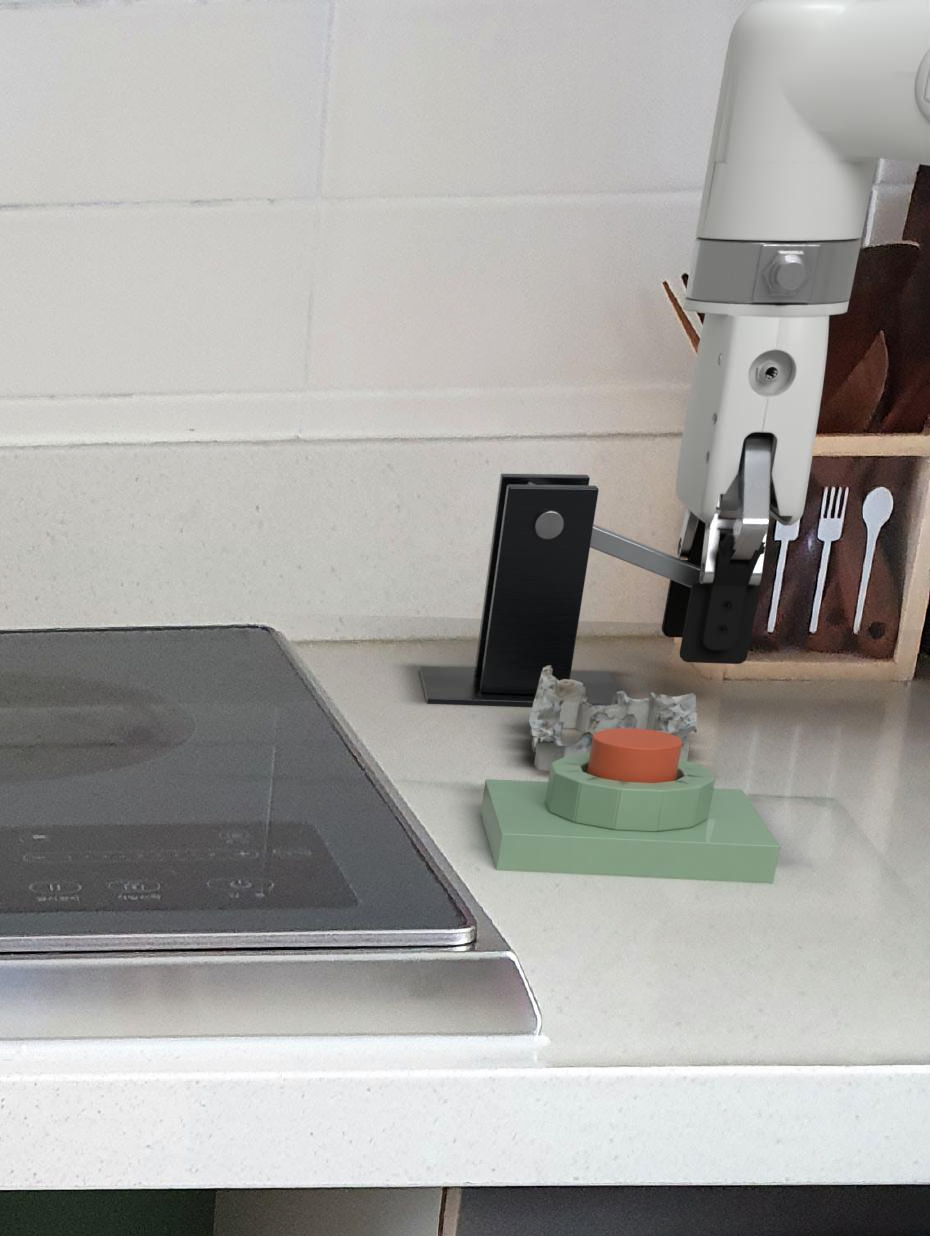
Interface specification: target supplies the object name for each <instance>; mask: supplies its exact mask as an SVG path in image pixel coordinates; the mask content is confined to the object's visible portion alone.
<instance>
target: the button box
mask: <svg viewBox="0 0 930 1236" xmlns="http://www.w3.org/2000/svg"><path fill="white" fill-rule="evenodd" d="M589 757H590V753H581V754H571V755H567V756H565V757H563V758H561V759H558V760H556V761H554V762H552V763H551V767H550V771H549V773H548V774H549V775H548V781H539V780H536V781H535V780H517V779H516V780H514V779H491V778H490V779H489V778H487V779H485V780H484V787H483V795H482V802H481V807H480V808H481V809H480V816H481V820H482V824H483V827H484V831H485V834H486V838H487V841H488V845H489V849H490V852H491V856H492V859H493V863H494V867H495V870H496V871H504V872H505V871H508V872H524V873H525V872H527V873H546V874H547V873H548V874H549V873H550V874H567V875H568V874H569V875H589V876H610V877H611V876H612V877H629V878H632V877H633V878H653V879H673V880H696V881H715V882H733V883H734V882H735V883H753V884H755V883H756V884H774V881H775V875H776V870H777V864H778V859H779V854H780V849H781V845H780V844H779V842H778V841H777V839H776V838H775V837H774V835H773V834H772V832H771V830H770V829H769V827H768V826H767V824H766V823H765V822H764V820H763V818H762V817H761V815H760V814H759V813H758V811H757V810H756V808H755V806H754V805H753V803H752V802H751V801H750V799H749V798H748V797H747V795H746V793H745V792H744V790H743V789H741V788H737V789H736V788H714V787H715V784H716V783H715V782H716V778H715V776H714V775H713V773H712V772H711V770H710V769H709V768H708V767H706V766H703V765H701V764H697V763H695V762H692V761H689V760H687V761H686V760H683V759H679V764H678V770H677V776H676V781H670V782H660V783H638V782H621V781H615V780H609V779H603V778H598V777H595V776H593V775H590V774H587V770H588V763H589Z"/></svg>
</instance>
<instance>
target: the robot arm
mask: <svg viewBox="0 0 930 1236" xmlns="http://www.w3.org/2000/svg"><path fill="white" fill-rule="evenodd" d="M728 39H729V40H728V44H727V50H726V52H725V53H726V54H725V60H724V65H723V72H722V77H721V82H720V88H719V95H718V101H717V107H716V112H715V117H714V124H713V130H712V136H711V142H710V147H709V154H708V160H707V166H706V172H705V178H704V184H703V190H702V195H701V196H702V197H701V202H700V208H699V214H698V218H697V219H698V220H697V226H696V231H695V237H696V238H695V239H694V241H693V249H692V254H691V261H690V267H689V273H688V278H687V284H686V290H685V297H684V304H683V306H682V310H684V311H687V312H691V313H693V312H696V313H699V314H704V318H703V322H702V323H703V324H702V327H701V332H700V338H699V342H698V343H697V349H696V350H697V352H696V357H695V358H696V359H695V363H694V367H693V372H692V377H691V383H690V388H689V394H688V398H687V399H688V400H687V405H686V411H685V416H684V422H683V428H682V434H681V440H680V446H679V454H678V461H677V469H676V479H675V493H676V496H677V498H678V500H679V501H680V502H681V503H682V504H683V505H684V507H686V509H685V514H684V517H683V521H682V526H681V529H680V532H679V533H680V534H679V538H678V542H677V549H676V557H677V558H679V559H681V560H684V561H686V562H689V563H691V564H694V565H696V566H699V567H701V570H700V581H692V586H691V588H690V587H688V586H685V585H683V584H680V583H678V582H676V581H673V580H671V579H669V584H668V589H667V595H666V601H665V608H664V612H663V619H662V623H661V632H662V634H663V635H664V636H665V637H667V638H681V642H680V649H679V657H680V659H681V660H682V661H683V662H685V663H693V664H694V663H697V664H722V665H723V664H725V665H726V664H727V665H740V664H741V665H742V664H743V663H744V662H745V661H746V660H747V657H748V654H749V649H750V644H751V640H752V633H753V628H754V623H755V619H756V614H757V613H756V612H757V609H758V602H759V597H760V593H761V587H762V584H761V580H762V577H763V570H764V569H763V568H764V563H765V552H766V545H767V536H768V529H769V525H770V516H771V517H772V518H773V519H774V520H775V521H777V522H778V523H779V524H781V525H782V526H785V527H786V526H789V527H790V526H792V525H795V524H796V523H797V522H798V521H799V520H800V519H801V518H802V517H803V514H804V510H805V506H806V499H807V494H808V488H809V487H808V486H809V481H810V474H811V468H812V462H813V454H814V449H815V442H816V437H817V436H816V435H817V429H818V423H819V416H820V410H821V402H822V396H823V388H824V380H825V373H826V364H827V356H828V344H829V329H830V316H835V315H842V314H845V313H848V308H849V303H850V299H851V294H852V291H853V284H854V281H855V280H854V279H855V274H856V269H857V263H858V261H859V260H858V259H859V254H860V249H861V244H862V240H861V238H862V237H863V232H864V226H865V223H866V222H865V221H866V217H867V212H868V206H869V201H870V198H871V197H870V196H871V193H872V192H871V191H872V187H873V181H874V176H875V172H876V166H877V161H878V159H882V160H890V161H897V162H904V163H911V164H917V165H923V166H929V167H930V0H760V1H757V2H755V3H753V4H750V5H749V6H748V7H747V8H745V9H744V10H743V11H742V12H741V14H740V15H739V16H738V17H737V19H736V21H735V22H734V24H733V26H732V29H731V32H730V35H729V38H728Z"/></svg>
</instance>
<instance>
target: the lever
mask: <svg viewBox="0 0 930 1236" xmlns="http://www.w3.org/2000/svg"><path fill="white" fill-rule="evenodd" d="M527 485H536V484H534V483H531V482H528V483H527ZM590 549H594V550H596V551H598V552H600V553H604V554H606V555H608V556H611V557H613V558H615V559H619V560H621V561H623V562H626V563H629V564H631V565H633V566H636V567H638V568H641V569H644V570H646V571H648V572H651V573H653V574H655V575H658V576H661V577H663V578H666V579H668V580H670V579H671V580H673V581H676V582H678V583H680V584H683V585H685V586H688V587H690V588H691V586H692V581H700V570H701V567H699V566H696V565H694V564H691V563H689V562H686V561H684V560H685V559H682V558H677V556H674V555H671V554H669V553H666V552H664V551H662V550H660V549H656V548H654V547H652V546H650V545H646V544H644V543H642V542H639V541H636V540H634V539H632V538H629V537H626V536H625V535H622V534H619V533H616V532H614V531H611V530H609V529H607V528H604V527H602V526H599V525H596V524H593V530H592V537H591V544H590Z"/></svg>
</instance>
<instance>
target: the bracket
mask: <svg viewBox="0 0 930 1236" xmlns="http://www.w3.org/2000/svg"><path fill="white" fill-rule="evenodd" d="M590 480H591V478H590V475H588V474H573V473H571V474H568V473H567V474H565V473H564V474H563V473H562V474H561V473H559V474H558V473H557V474H556V473H500V477H499V483H498V484H499V485H498V491H497V500H496V507H495V514H494V521H493V529H492V537H491V542H490V543H491V545H490V551H489V559H488V567H487V573H486V582H485V588H484V597H483V604H482V612H481V618H480V619H481V620H480V628H479V635H478V641H477V649H476V657H475V663H474V667H463V666H462V667H459V666H457V667H456V666H431V665H429V666H427V665H426V666H425V665H421V666H419V675H420V676H419V677H420V681H421V684H422V688H423V693H424V697H425V701H426V704H427V705H449V706H450V705H453V706H477V707H478V706H481V707H507V708H508V707H509V708H510V707H511V708H532V707H533V702H534V699H535V696H536V692H537V689H538V684H539V680H540V676H541V673H542V670H543V668H544V667H545V666H547V665H548V666H549V665H551V668H552V669H553V672H552V676H554V677H555V678H556V679H558V680H559V681H560V680H562V679H570V680H576V681H578V682H581V683H583V685H584V686H585V691H586V696H587V700H586V702H588V703H589V704H591V705H593V706H599V705H603V706H609V705H611V704H612V701H613V696H614V695H615V694H616V693H617V692H618V691H620V690H619V689H618V687H617V685H616V683H615V682H614V680H613V678H612V676H611V675H610V673H609V671H597V670H596V671H594V670H592V671H591V670H590V671H589V670H572V669H573V662H574V655H575V648H576V641H577V635H578V629H579V621H580V615H581V610H582V609H581V608H582V603H583V595H584V590H585V583H586V574H587V569H588V563H589V555H590V550H591V547H590V544H591V537H592V530H593V524H594V523H595V518H596V510H597V504H598V497H599V488H598V486H597V485H590ZM528 482H531V483H534V484H536V485H527V483H528ZM594 525H595V524H594Z"/></svg>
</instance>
